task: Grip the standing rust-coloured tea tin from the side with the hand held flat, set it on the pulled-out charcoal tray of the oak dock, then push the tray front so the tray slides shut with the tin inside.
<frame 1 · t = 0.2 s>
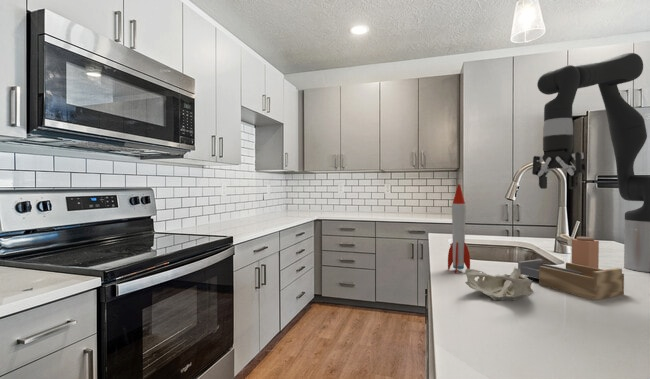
hand: (557, 188, 101), 29 cm above the countertop, tool pointing down, fingers open, 8 cm apart
tray: (548, 270, 103), point 3 cm above the countertop, slide at 8.0 cm
anatomical model: (502, 296, 89), on the countertop
dock: (579, 289, 95), on the countertop
toy rocket: (458, 271, 115), on the countertop
tin: (584, 277, 107), on the countertop
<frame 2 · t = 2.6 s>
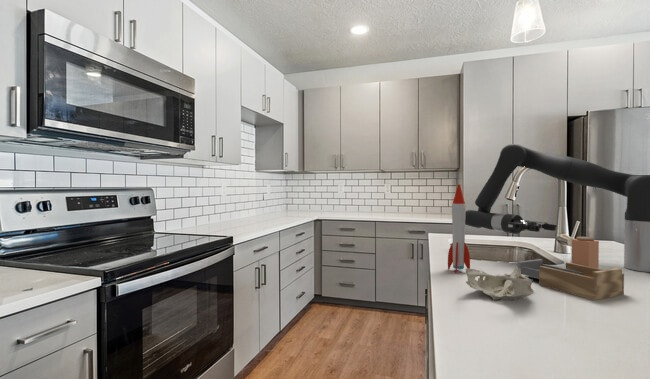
hand: (547, 228, 118), 14 cm above the countertop, tool horizontal, fingers open, 8 cm apart
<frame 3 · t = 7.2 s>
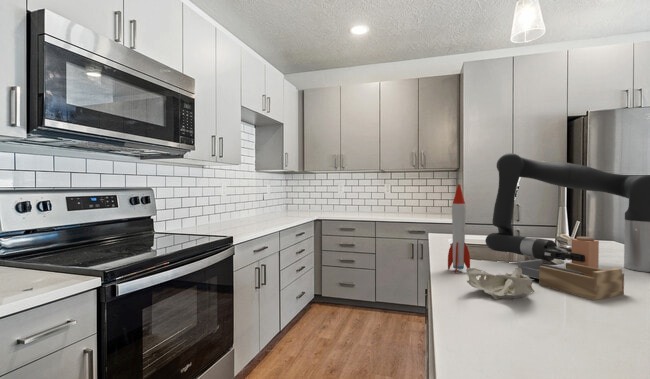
hand: (589, 257, 106), 7 cm above the countertop, tool horizontal, fingers closed on tin, 5 cm apart
tin: (584, 277, 107), on the countertop, touching gripper
when the fingers open (10 cm above the countertop, at t = 11.7 s): tin drops 2 cm, resting on tray.
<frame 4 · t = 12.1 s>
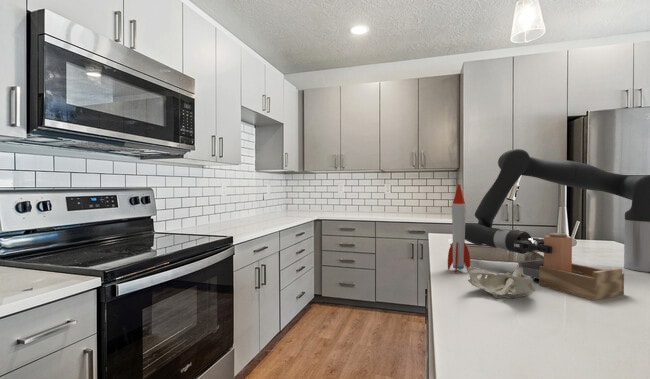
hand: (560, 249, 99), 11 cm above the countertop, tool horizontal, fingers open, 8 cm apart
tray: (549, 270, 103), point 3 cm above the countertop, slide at 7.9 cm, touching tin
tin: (557, 276, 100), point 2 cm above the countertop, touching tray
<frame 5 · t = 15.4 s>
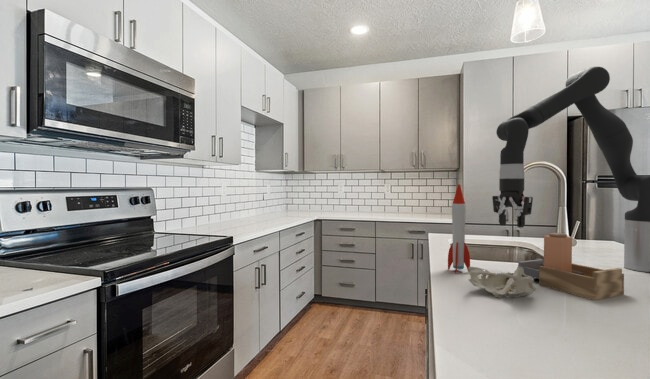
hand: (511, 226, 115), 15 cm above the countertop, tool pointing down, fingers open, 6 cm apart
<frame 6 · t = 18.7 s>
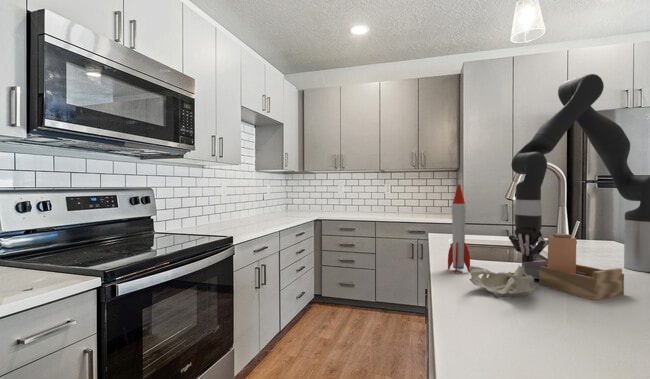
hand: (527, 266, 109), 3 cm above the countertop, tool pointing down, fingers closed
tray: (553, 271, 102), point 3 cm above the countertop, slide at 6.7 cm, touching gripper, tin
tin: (561, 277, 99), point 2 cm above the countertop, touching tray
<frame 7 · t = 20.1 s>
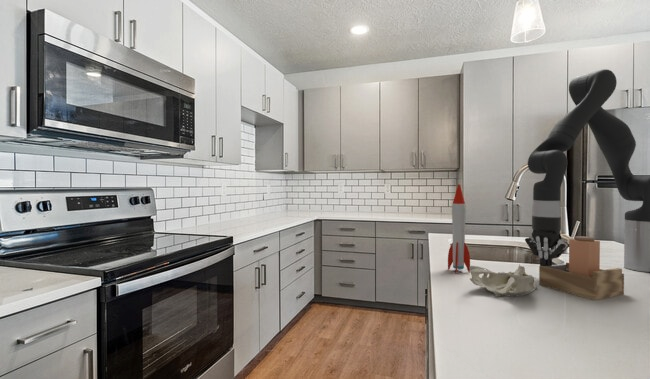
hand: (545, 270, 104), 3 cm above the countertop, tool pointing down, fingers closed
tray: (574, 276, 96), point 3 cm above the countertop, slide at 0.6 cm, touching gripper, tin
tin: (583, 282, 94), point 2 cm above the countertop, touching tray
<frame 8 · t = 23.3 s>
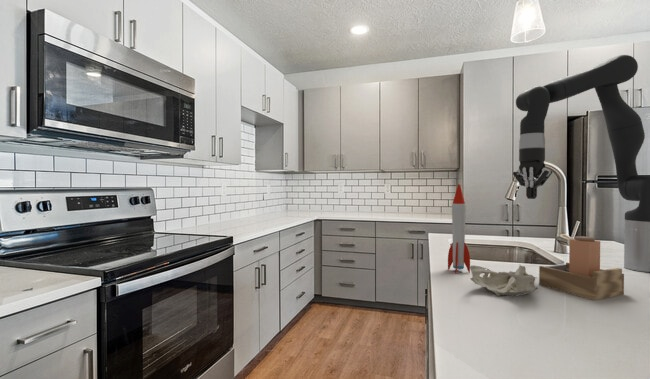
hand: (531, 198, 113), 25 cm above the countertop, tool pointing down, fingers closed
tray: (574, 276, 96), point 3 cm above the countertop, slide at 0.5 cm, touching tin
at the end: tray slide at 0.5 cm; tin inside the target area on the dock (1.2 cm from its centre), point 2.1 cm above the dock's base; tin tilted 0° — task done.
